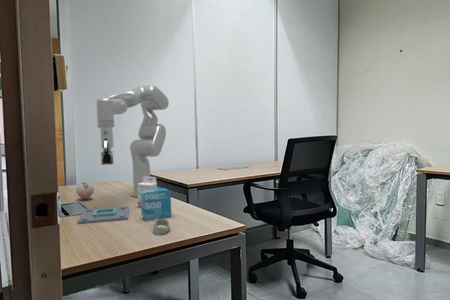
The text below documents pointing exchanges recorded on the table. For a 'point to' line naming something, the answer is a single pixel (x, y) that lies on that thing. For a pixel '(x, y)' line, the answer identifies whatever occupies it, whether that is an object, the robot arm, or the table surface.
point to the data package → (155, 203)
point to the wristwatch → (160, 230)
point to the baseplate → (104, 215)
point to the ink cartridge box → (146, 186)
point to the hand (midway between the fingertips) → (107, 161)
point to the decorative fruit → (85, 190)
